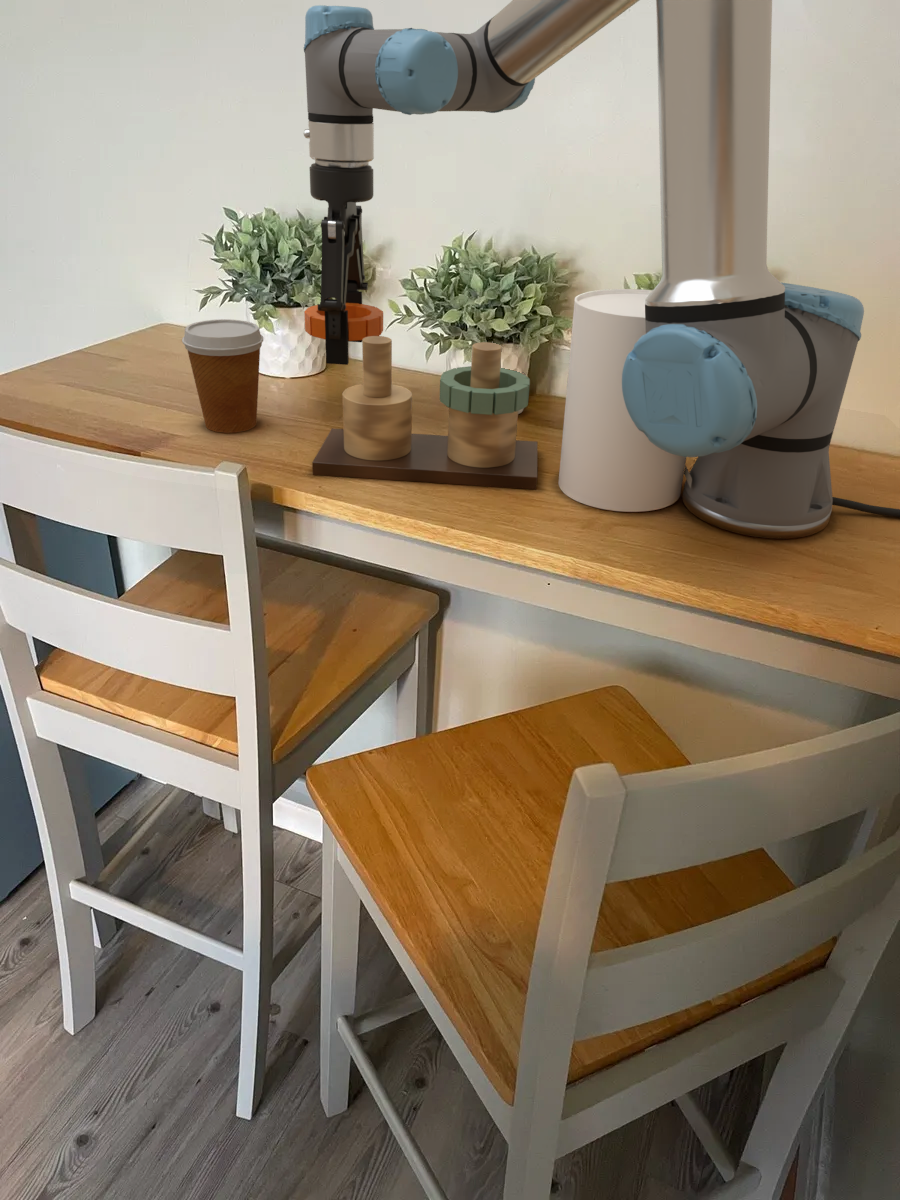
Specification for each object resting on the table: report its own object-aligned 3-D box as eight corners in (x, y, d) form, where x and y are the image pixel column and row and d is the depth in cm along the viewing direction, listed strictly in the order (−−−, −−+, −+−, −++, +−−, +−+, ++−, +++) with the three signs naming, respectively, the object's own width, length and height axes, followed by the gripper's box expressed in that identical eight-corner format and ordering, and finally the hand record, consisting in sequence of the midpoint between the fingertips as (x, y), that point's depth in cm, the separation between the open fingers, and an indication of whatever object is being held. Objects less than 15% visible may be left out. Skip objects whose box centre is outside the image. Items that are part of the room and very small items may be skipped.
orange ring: (387, 323, 120) (387, 305, 119) (376, 343, 111) (376, 323, 110) (315, 318, 120) (314, 300, 119) (298, 338, 112) (297, 318, 111)
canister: (541, 496, 98) (556, 307, 88) (579, 456, 108) (597, 284, 98) (664, 521, 93) (695, 324, 83) (692, 477, 103) (722, 297, 93)
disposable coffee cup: (227, 443, 107) (217, 343, 101) (176, 425, 112) (163, 328, 106) (285, 423, 114) (279, 328, 108) (234, 406, 119) (226, 314, 113)
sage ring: (528, 389, 104) (530, 368, 103) (527, 417, 96) (529, 395, 94) (444, 384, 104) (444, 363, 103) (435, 411, 96) (436, 389, 95)
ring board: (536, 453, 108) (546, 336, 101) (536, 489, 99) (547, 364, 92) (332, 439, 110) (328, 323, 103) (312, 474, 100) (306, 349, 93)
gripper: (328, 152, 115) (333, 328, 127) (287, 171, 96) (297, 375, 108) (386, 155, 115) (386, 331, 127) (356, 175, 96) (358, 379, 108)
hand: (345, 351), depth 117 cm, fingers closed on orange ring, 10 cm apart
